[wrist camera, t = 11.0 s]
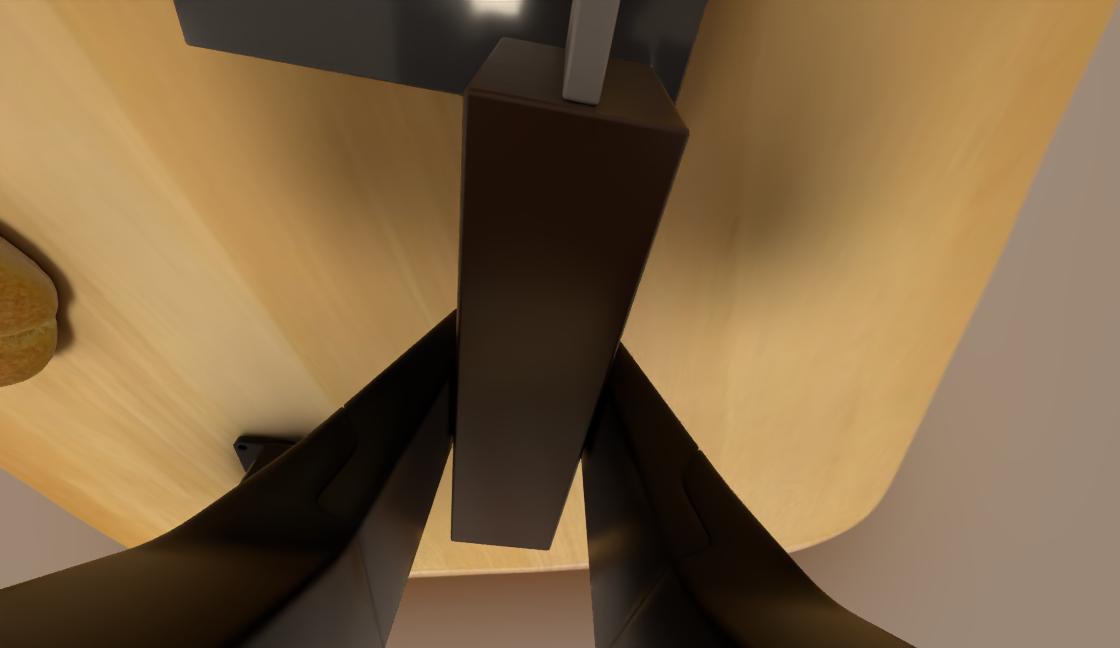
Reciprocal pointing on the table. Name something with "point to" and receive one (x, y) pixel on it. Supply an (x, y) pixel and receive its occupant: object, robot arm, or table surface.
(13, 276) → the bread roll
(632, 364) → the robot arm
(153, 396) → the table surface
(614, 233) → the knife
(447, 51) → the butter board
